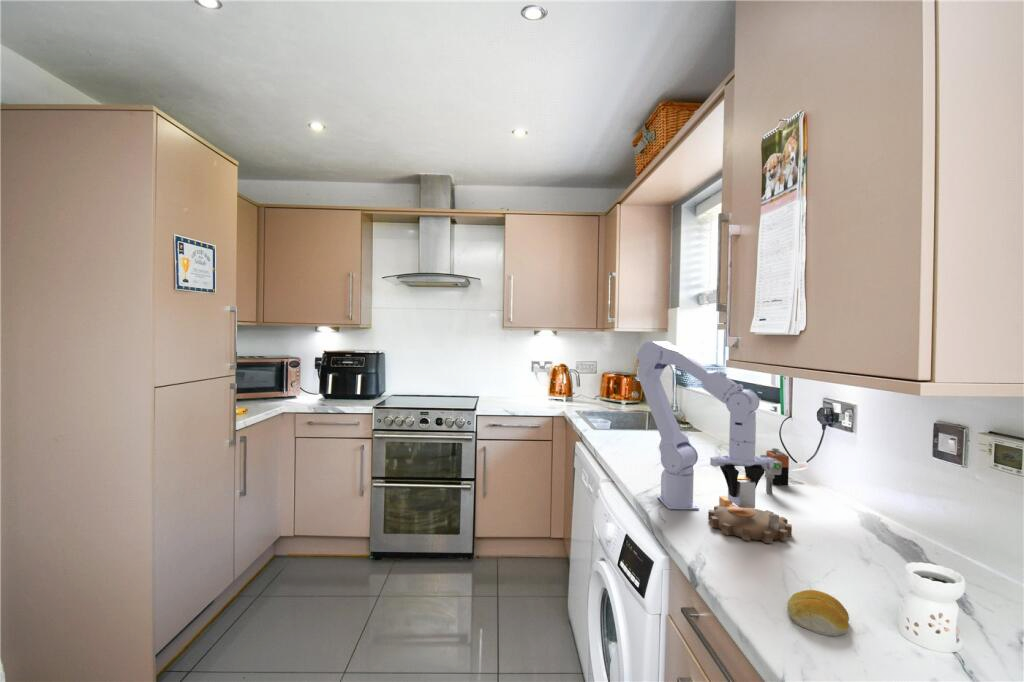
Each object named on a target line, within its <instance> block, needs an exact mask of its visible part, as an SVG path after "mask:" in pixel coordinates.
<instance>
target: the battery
mask: <svg viewBox="0 0 1024 682" xmlns="http://www.w3.org/2000/svg"><path fill="white" fill-rule="evenodd" d="M765 452H766V453H765V455H766V456H768V457H771V458H775V459H776V460H778V461H780V462H781V463H782V469H781V475H774V477H775V478H773V483H772V486H781V485H787V486H789V469H790V468H789V467H790V466H789V464H790V462H789V461H790V457H789V455H787V454H786V453H784V452H782V451H780V449H779V448H775V447H772V448H771V450H770V449H769V450H766V451H765ZM787 486H786V487H787Z"/></svg>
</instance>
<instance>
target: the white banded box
mask: <svg viewBox="0 0 1024 682" xmlns="http://www.w3.org/2000/svg"><path fill="white" fill-rule="evenodd" d="M755 485H756V483H755V482H754V481H752V480H751V478H749V477H747V476H746V475H743V474H738V478H737V493H736V497H732V496H731V495H729V490H728V489H727V497H728V499H729V500H730V501H731V502H732V504H733V505H736V506H738V507H740V508H754V509H756V489H755Z"/></svg>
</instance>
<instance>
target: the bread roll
mask: <svg viewBox="0 0 1024 682" xmlns="http://www.w3.org/2000/svg"><path fill="white" fill-rule="evenodd" d="M786 607H787V612H788V615H789V617H790V619H791V620H792V621H794V623H796V624H797V625H798V626H800V628H801V627H802V628H803V629H806V630H808V631H811V632H814V633H816V634H819V635H823V636H826V637H837V636H841V635H844V634H846V632H847V631H848V630H849V628H850V627H849V626H850V624H849V621H850V617H849V616H850V615H849V612H848V611H847V609H846V608H845V607H844V605H843V604H842V603H841V602H840V601H839V600H838V599H837V598H835V597H833V596H832V595H831V594H828V593H825V592H823V591H821V590H815V589H806V590H801V591H798V592H795V593H794V594H792V595H791V597H790V598H789V599H788V601H787V606H786Z"/></svg>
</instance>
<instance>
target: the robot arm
mask: <svg viewBox="0 0 1024 682" xmlns="http://www.w3.org/2000/svg"><path fill="white" fill-rule="evenodd" d="M636 357H637V360H638V367H637V369H638V370H637V378H638V380H639V381H638V382H639V384H640V386H641V388H642V389H641V390H643V391H642V392H643V394H644V396H645V399H646V402H647V404H648V407H649V409H650V412H651V415H652V417H653V420H654V423H655V426H656V428H657V431H658V433H659V436H660V442H659V445H658V448H659V452H660V463H661V466H662V467H663V468H664V469H663V470H662V472H661V475H660V495H659V494H658V495H657V499H659V500H660V501H661V503H662V504H664V505H665V507H666V508H667V509H668V510H700V507H699V506H698V505H697V504H696V503H695V502H694V472H695V471H694V465H696V464H697V462H698V460H699V454H698V451H697V449H696V448H695V447H694V446H693V445H692V444H691V442H690V440H689V438H688V437H687V436H686V435H685V434H683V432H682V431H681V428H680V426H679V423H678V420H677V419H676V416H675V414H674V413H675V412H674V411H673V408H672V406H671V403H670V401H669V399H668V395H667V393H666V390H665V387H664V385H663V383H662V380H661V375H662V374H663V372H664V370H665V369H666V368H667V367H668V366H670V365H671V366H675V367H678V368H679V369H681V370H682V371H684V372H686V374H687V373H688V374H689V375H690V376H692V377H693V378H695V379H697V380H698V381H700V382H701V386H702V388H703V390H704V391H706V392H707V393H709V394H710V395H711V396H713V397H715V399H717V400H718V401H719V402H721V403H723V404H724V405H725V406H726V409H727V411H729V432H728V433H729V434H728V435H729V436H728V437H729V440H728V441H729V442H728V455H722V456H721V455H720V456H710V461H709V462H710V464H709V465H711V466H712V467H714V468H715V467H716V468H717V467H719V468H720V470H721V472H722V474H723V476H724V478H725V482H726V485H727V491H728V490H729V495H731V496H732V497H736V493H737V478H738V475H740V474H739V473H740V471H739V470H738V469H737V468H736V467H744V473H745V476H747V477H749V478H751V480H752V481H754V482H755V483H756V485H755V490H756V489H757V486H758V484H759V482H760V480H761V479H762V478H763V476H764V475H765V471H764V469H763V468H762V466H768V467H774V459H772V458H770V457H759V456H756V440H757V439H756V438H757V437H756V435H757V429H756V428H757V421H756V420H757V418H756V417H757V415H756V413H757V412H756V411H757V410H758V409H759V407H760V403H761V401H760V398H759V396H758V394H756V393H755V392H754V390H752V389H750V388H744V385H743V384H741V383H739V384H738V383H736V382H735V381H734V380H732V379H730V377H727V373H726V372H725V371H719V370H713V371H710V370H708V369H707V368H706V367H704V366H703V365H702V364H701V363H699V362H698V361H697V360H695V359H694V358H692V357H691V356H689V354H687V353H686V352H685V351H683V350H682V349H681V348H680V347H678V346H676V345H673V344H672V343H671V342H670V341H666V340H665V341H663V340H662V341H654V340H653V341H652V340H651V341H649V340H647V341H645V342H644V343H642V345H640V347H639V349H638V351H637V353H636Z"/></svg>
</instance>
